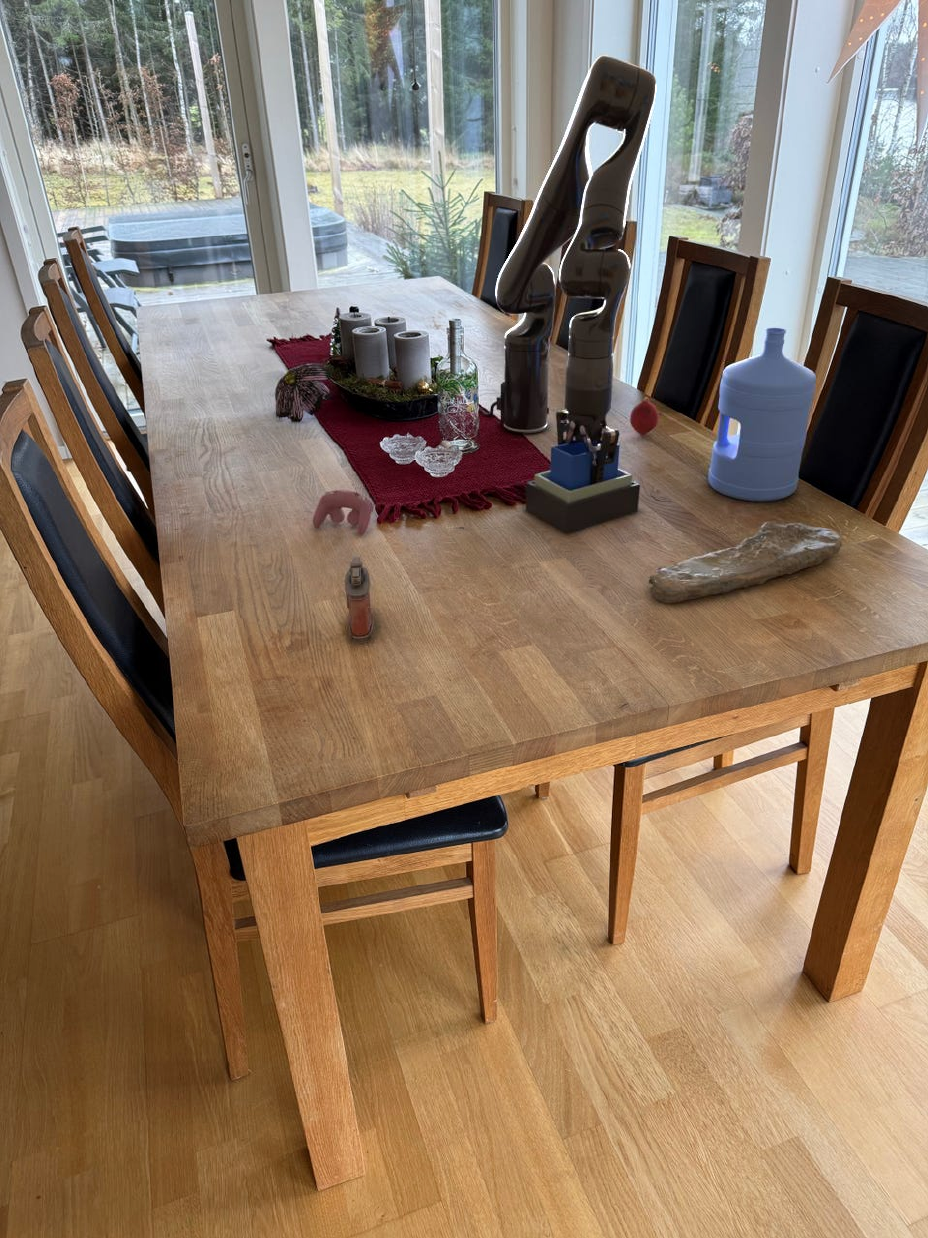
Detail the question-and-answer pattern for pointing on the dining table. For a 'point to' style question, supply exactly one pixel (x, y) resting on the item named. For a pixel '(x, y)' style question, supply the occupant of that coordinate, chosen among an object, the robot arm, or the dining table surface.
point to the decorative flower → (301, 391)
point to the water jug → (762, 424)
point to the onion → (644, 417)
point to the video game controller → (348, 499)
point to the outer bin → (581, 507)
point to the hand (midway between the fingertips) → (583, 478)
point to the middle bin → (585, 492)
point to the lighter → (359, 602)
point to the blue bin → (577, 465)
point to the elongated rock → (746, 562)
